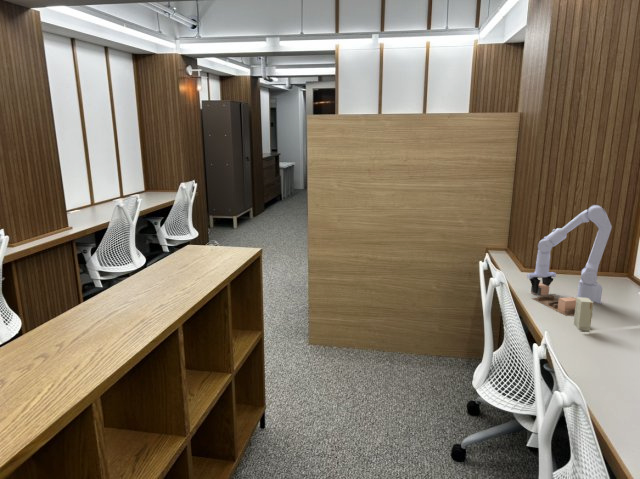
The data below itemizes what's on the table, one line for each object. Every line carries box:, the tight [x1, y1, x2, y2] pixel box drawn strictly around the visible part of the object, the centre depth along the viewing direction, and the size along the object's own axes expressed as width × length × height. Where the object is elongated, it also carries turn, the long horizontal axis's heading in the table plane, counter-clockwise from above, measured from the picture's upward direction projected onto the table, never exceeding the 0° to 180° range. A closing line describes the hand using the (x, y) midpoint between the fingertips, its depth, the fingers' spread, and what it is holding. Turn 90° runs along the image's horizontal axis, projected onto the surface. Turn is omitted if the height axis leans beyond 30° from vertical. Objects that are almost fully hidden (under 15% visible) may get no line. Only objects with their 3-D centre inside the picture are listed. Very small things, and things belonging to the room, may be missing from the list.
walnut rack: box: [531, 293, 575, 317], centre depth 207 cm, size 13×22×2 cm, turn 14°
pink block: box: [558, 296, 577, 312], centre depth 202 cm, size 7×5×5 cm, turn 104°
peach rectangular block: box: [530, 282, 550, 296], centre depth 224 cm, size 5×7×5 cm, turn 14°
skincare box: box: [573, 296, 594, 333], centre depth 183 cm, size 6×4×12 cm
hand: (539, 292), depth 224 cm, fingers closed on peach rectangular block, 5 cm apart
